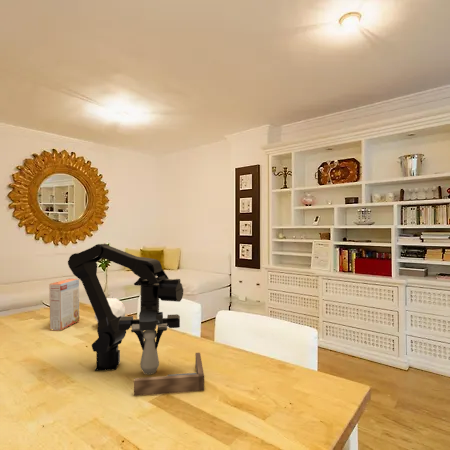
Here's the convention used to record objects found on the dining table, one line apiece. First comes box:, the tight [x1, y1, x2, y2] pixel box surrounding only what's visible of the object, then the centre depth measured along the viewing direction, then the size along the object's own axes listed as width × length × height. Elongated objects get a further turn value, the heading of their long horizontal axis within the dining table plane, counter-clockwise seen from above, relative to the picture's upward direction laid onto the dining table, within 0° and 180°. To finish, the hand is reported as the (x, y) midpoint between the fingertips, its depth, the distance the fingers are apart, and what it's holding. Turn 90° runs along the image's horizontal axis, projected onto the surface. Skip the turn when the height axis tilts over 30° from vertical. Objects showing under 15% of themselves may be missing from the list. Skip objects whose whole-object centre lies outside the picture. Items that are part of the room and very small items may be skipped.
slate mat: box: [166, 372, 197, 376], centre depth 94 cm, size 9×9×1 cm
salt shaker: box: [140, 329, 160, 375], centre depth 100 cm, size 6×6×13 cm
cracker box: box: [48, 278, 80, 331], centre depth 148 cm, size 14×6×21 cm, turn 172°
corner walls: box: [133, 352, 205, 397], centre depth 96 cm, size 19×17×4 cm
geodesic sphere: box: [94, 296, 127, 323], centre depth 147 cm, size 14×14×14 cm
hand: (149, 349), depth 100 cm, fingers closed on salt shaker, 3 cm apart
